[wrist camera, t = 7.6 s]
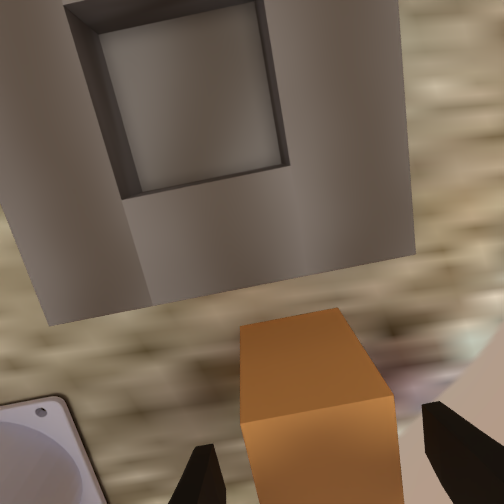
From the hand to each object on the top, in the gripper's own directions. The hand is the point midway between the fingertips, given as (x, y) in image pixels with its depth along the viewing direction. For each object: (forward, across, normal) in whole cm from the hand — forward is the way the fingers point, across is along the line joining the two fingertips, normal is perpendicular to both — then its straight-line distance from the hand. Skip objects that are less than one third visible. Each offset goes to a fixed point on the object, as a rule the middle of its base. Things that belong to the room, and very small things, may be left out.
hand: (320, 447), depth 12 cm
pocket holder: (+5, +2, -12) cm, 13 cm away
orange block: (+5, 0, 0) cm, 5 cm away
